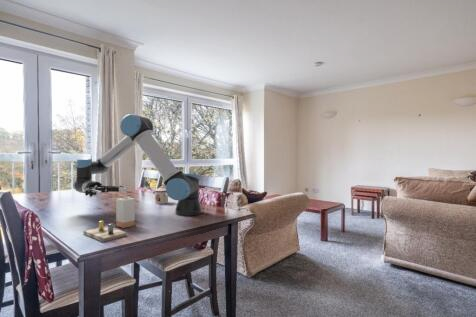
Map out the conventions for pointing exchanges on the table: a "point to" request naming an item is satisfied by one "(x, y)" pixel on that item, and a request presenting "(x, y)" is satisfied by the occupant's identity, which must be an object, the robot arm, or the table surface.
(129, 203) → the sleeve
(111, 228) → the steel pin
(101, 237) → the pin board
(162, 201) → the wooden birdhouse
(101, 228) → the brass pin
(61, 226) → the table surface
